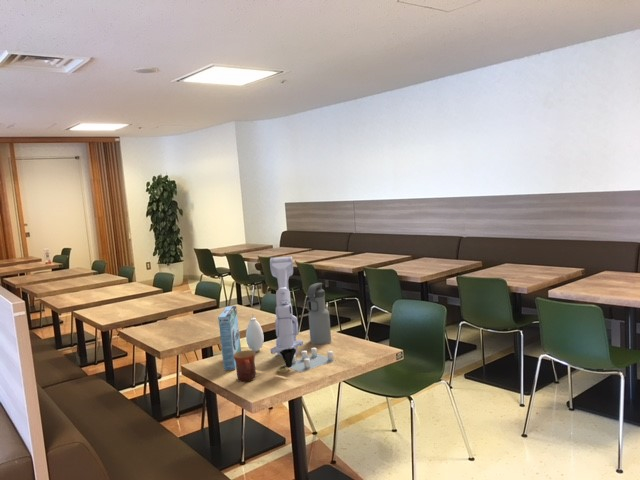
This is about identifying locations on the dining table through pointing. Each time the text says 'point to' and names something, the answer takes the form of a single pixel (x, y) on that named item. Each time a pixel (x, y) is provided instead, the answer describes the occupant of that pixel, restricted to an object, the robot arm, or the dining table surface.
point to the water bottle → (318, 316)
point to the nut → (282, 368)
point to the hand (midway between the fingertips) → (288, 366)
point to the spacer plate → (311, 360)
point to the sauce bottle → (254, 335)
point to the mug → (245, 365)
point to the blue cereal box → (229, 336)
